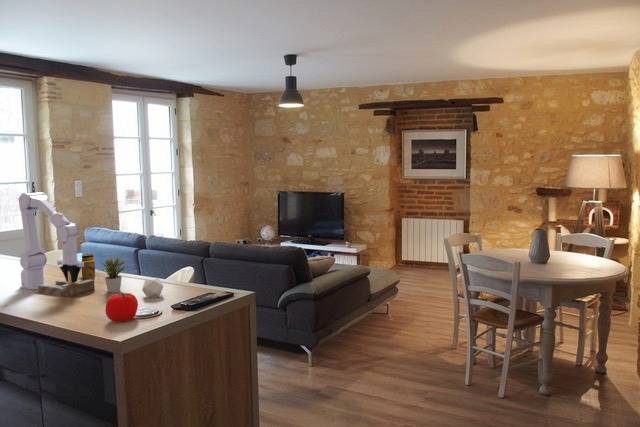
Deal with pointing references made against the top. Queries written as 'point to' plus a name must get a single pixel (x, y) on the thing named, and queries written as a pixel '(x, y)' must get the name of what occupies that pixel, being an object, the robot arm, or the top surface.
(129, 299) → the tomato
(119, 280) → the house plant
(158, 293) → the die
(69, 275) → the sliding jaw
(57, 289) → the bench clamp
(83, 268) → the condiment
